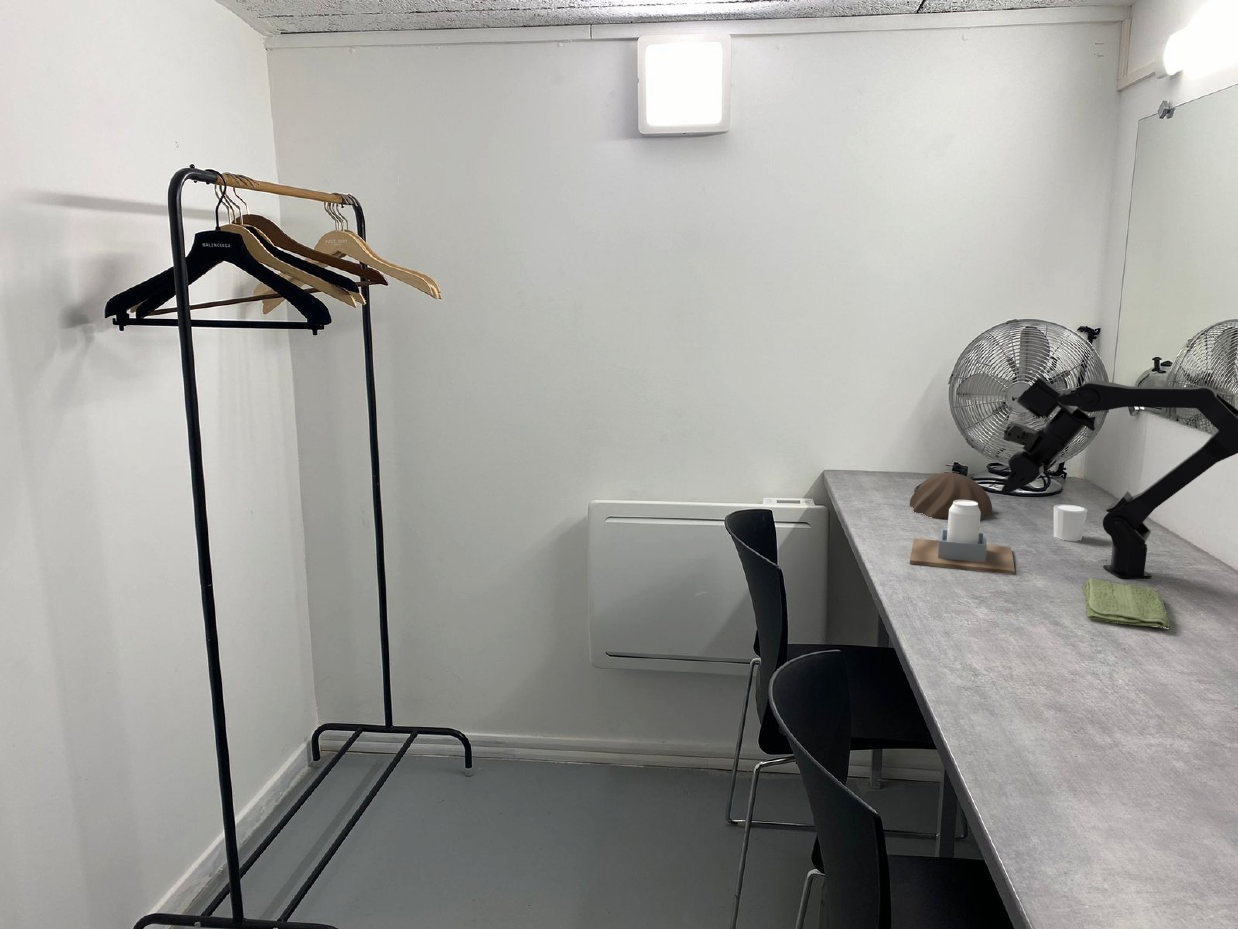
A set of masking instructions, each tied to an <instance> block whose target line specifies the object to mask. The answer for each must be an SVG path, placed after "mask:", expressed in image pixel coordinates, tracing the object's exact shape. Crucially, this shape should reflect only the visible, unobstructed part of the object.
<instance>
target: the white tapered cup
mask: <svg viewBox="0 0 1238 929" xmlns="http://www.w3.org/2000/svg"><path fill="white" fill-rule="evenodd" d="M1087 515H1088V509H1087V508H1086V507H1083V506H1079V505H1074V504H1065V503H1064V504H1063V503H1062V504H1055V505H1054V506H1053V537H1054V538H1055V537H1057V538H1059V539H1058V540H1060V539H1062V540H1061V541H1064V540H1067V541H1066V542H1079V541H1078V540H1080V541H1081V540H1082V538H1083V535H1084V529H1085V524H1086V520H1087ZM1057 538H1056V539H1057Z"/></svg>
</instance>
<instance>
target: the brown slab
mask: <svg viewBox="0 0 1238 929" xmlns="http://www.w3.org/2000/svg"><path fill="white" fill-rule="evenodd" d="M912 543H913V544H912V547H911V552H910V558H909V564H911V565H919V566H927V565H928V567H936V568H937V567H938V568H948V569H956V568H957V570H967V571H979V572H987V573H996V574H997V573H998V574H1005V575H1007V574H1008V575H1015V571H1016V570H1015V565H1014V564H1015V563H1014V557H1013V550H1012V547H1011V546H1000V545H990V544H987V548H986V560H985V562H975V561H964V560H954V559H944V558H938V550H939V539H938V540H936V539H926V538H924V539H923V538H915V537H914V538H913V542H912Z"/></svg>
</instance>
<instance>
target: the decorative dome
mask: <svg viewBox="0 0 1238 929" xmlns="http://www.w3.org/2000/svg"><path fill="white" fill-rule="evenodd" d="M955 500H970V501H974V502H977V503H978V507H979V509H980V512H981V515H980V521H982V520H983V519H984V518H986V517H991V516H992V517H993V505H992V501H991V499H990V497H989V494H988V493H987V492H986V491H985V489H984V488H983V487H982V486H981V485H979V484H978V482H976V481H974V480H973V479H972V478H970V477H968V476H966V475H963V474H959V473H955V472H944V473H942V472H941V473H939V474H935V475H933V476H931V477H929V478H927V479H925V480H924V481H923V482H921V484H920V485H919V486H918V488H917V490H916V491H915V492H914V493H913V494H912V496H911V498H910V500H909V507H911V508H912V507H913V508H912V509H913V510H912V512H913V511H914V512H913V513H915V512H916V513H915V514H919V513H923V514H925V515H926V516H925V515H924V516H925V517H927V516H928V518H929V517H932V518H931V519H937V518H941V520H947V519H948V518H949V509H950V507H951V506H952V504H953V501H955ZM923 514H922V515H923ZM943 518H944V519H943Z"/></svg>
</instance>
